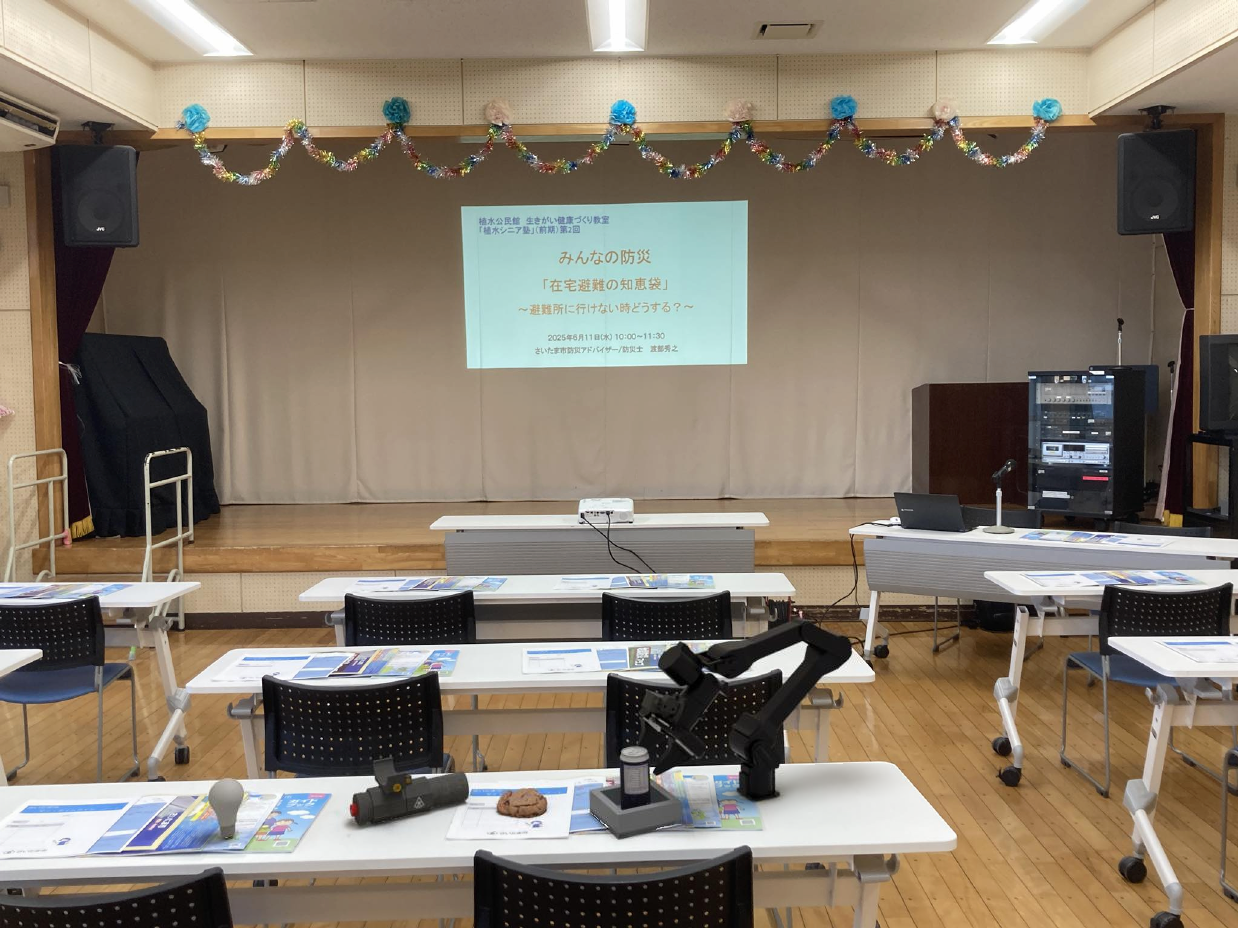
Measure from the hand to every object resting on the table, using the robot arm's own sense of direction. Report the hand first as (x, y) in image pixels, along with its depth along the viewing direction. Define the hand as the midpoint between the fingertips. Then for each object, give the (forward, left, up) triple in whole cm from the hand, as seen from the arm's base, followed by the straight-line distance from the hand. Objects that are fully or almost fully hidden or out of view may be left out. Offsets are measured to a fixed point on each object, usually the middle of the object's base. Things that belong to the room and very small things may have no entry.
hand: (644, 766), depth 183 cm
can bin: (+2, 0, -10) cm, 10 cm away
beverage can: (+2, 0, -9) cm, 9 cm away
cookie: (+19, -15, -10) cm, 26 cm away
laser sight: (+40, -23, -10) cm, 47 cm away
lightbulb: (+72, -28, -10) cm, 78 cm away
